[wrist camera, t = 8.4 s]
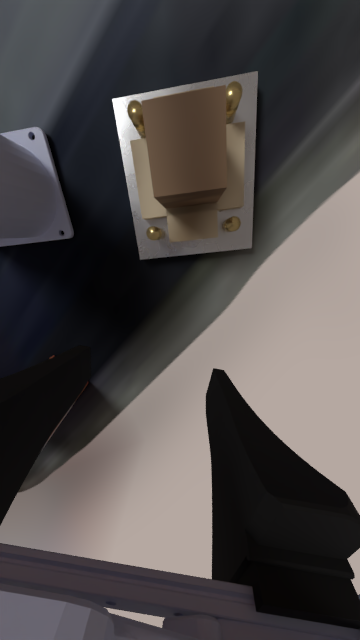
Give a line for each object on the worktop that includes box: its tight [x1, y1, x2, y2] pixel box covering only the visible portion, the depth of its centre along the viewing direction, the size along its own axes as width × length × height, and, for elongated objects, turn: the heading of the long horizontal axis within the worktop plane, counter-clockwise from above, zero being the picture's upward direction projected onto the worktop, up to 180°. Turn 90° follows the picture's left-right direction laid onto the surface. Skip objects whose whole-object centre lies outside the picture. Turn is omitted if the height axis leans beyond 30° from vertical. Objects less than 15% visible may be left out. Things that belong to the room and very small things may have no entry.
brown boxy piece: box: [130, 85, 245, 243], centre depth 13 cm, size 8×9×6 cm
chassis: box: [112, 71, 258, 260], centre depth 15 cm, size 10×11×4 cm
